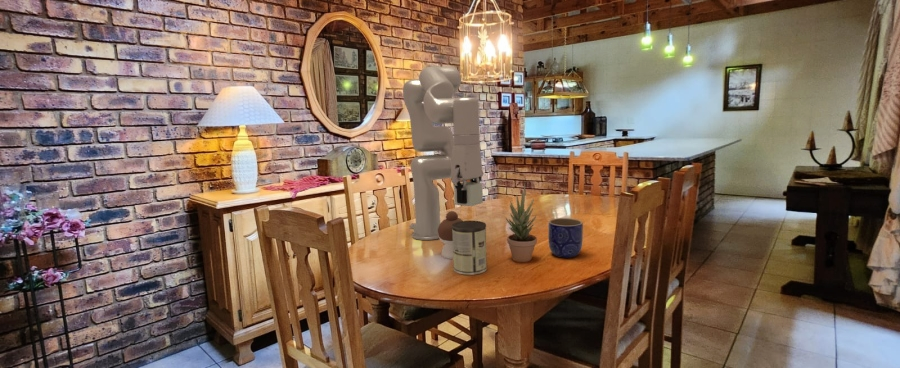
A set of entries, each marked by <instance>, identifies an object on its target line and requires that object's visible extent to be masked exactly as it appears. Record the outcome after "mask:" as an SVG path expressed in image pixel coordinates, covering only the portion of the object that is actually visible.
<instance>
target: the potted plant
mask: <svg viewBox="0 0 900 368" xmlns="http://www.w3.org/2000/svg"><path fill="white" fill-rule="evenodd" d="M520 198H521V199H520V201H519V196H518V195H516V208H515V206H514V205H513V202H512V201H510V202H509V203H510V205H509V208H510V210H511V213H510V217H511V219H512V220H511V219H508V218H507V217H505V220H506V221H507V223H508V224H509V227H508V229H509V230H510V231H511V232H512V234H509V235H507V237H506V242H507V244H508V246H509V250H510V253H511V259H512V260H513V261H515V262H518V263H526V262H530V261H531V260H532V258H533V253H534V250H535V246H536V245H537V243H538V237H537V236H536V235H534V234H531V233H530V232H531V231H532V229H533V226H534V224H533V222H534V221H535V220H536V218H537V216H534V217H533V218H532V219H530V217H531V214H532V213H533V210H534V208H532V206H533V204H534V201H535V198H533V199H532V201H531V202H530V203H529V205H528V207H527V209H526V210H525V201H526V183H524V184H523V190H522V193H521V197H520Z"/></svg>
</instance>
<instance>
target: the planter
mask: <svg viewBox="0 0 900 368" xmlns="http://www.w3.org/2000/svg"><path fill="white" fill-rule="evenodd" d="M583 229H584V222H583V221H582V220H580V219H576V218H569V217H568V218H567V217H560V218H558V217H557V218H552V219H549V220H548V235H547V237H548V248H549V250H550V252H551V253H552V254H553V255H554V256H556V257H558V258H565V259H570V258H575V257H576V256H578V255H579V254H580V253H581V251H582V249H583V239H584V237H583V236H584V230H583Z"/></svg>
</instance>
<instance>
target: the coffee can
mask: <svg viewBox="0 0 900 368" xmlns="http://www.w3.org/2000/svg"><path fill="white" fill-rule="evenodd" d="M452 233H453V259H452V260H453V272H454V273H457V274H459V275H463V276H465V275H467V276H472V275H474V276H475V275H479V274H483V273H485V272H486V271H487V270H488V267H487V235H486V234H487V224H486V222H484V221H480V220H462V221H460V222H456V223H454V224H452Z"/></svg>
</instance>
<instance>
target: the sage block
mask: <svg viewBox="0 0 900 368" xmlns="http://www.w3.org/2000/svg"><path fill="white" fill-rule="evenodd" d="M460 183H461V184H462V183H463V182H460ZM465 190H467V203H466V204H461V203H457V190H456V189H455V186H454V185H453V194H454V197H453V198H454V199H453V200H454V205H456V206H463V207H473V206H474V207H475V206H477V205H480V204H483V182H480V183H474V182H470V181H467V182H466V187H465Z"/></svg>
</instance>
